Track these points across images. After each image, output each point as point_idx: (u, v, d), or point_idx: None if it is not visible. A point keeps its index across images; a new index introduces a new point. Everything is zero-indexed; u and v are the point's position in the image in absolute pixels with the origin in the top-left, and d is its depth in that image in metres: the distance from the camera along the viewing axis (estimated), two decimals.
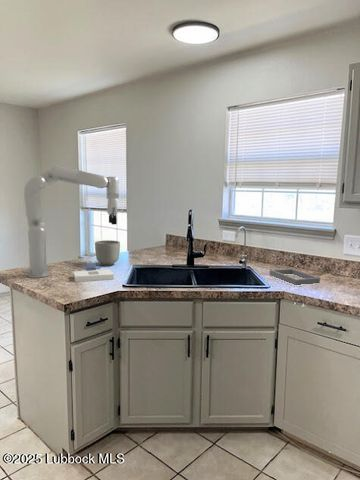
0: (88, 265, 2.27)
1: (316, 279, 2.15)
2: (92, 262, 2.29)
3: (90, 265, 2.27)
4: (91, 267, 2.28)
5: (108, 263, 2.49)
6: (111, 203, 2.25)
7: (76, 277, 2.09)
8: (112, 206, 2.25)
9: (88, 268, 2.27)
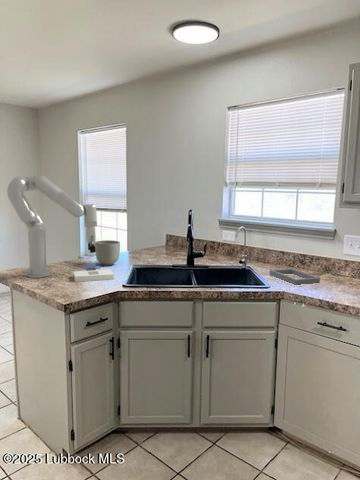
0: (88, 265, 2.27)
1: (316, 279, 2.15)
2: (92, 262, 2.29)
3: (90, 265, 2.27)
4: (91, 267, 2.28)
5: (108, 263, 2.49)
6: (89, 231, 2.21)
7: (76, 277, 2.09)
8: (90, 234, 2.22)
9: (88, 268, 2.27)
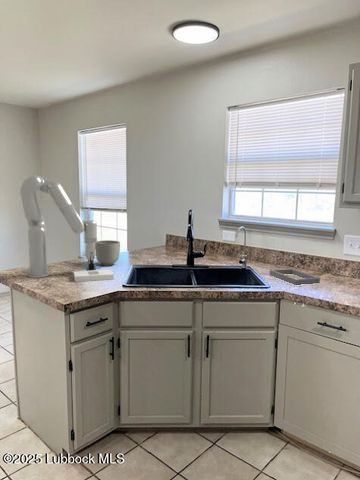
0: (88, 265, 2.27)
1: (316, 279, 2.15)
2: None
3: None
4: None
5: (108, 263, 2.49)
6: (89, 248, 2.23)
7: (76, 277, 2.09)
8: (90, 251, 2.23)
9: (88, 268, 2.27)
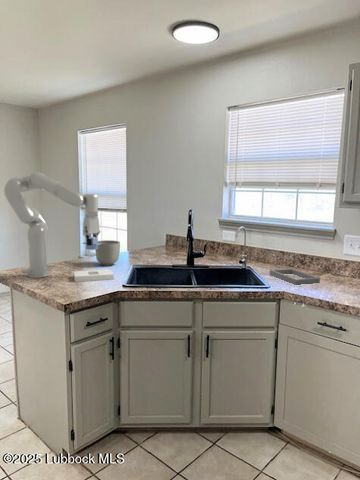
0: None
1: (316, 279, 2.15)
2: (92, 237, 2.20)
3: None
4: None
5: (108, 263, 2.49)
6: (84, 221, 2.17)
7: (76, 277, 2.09)
8: (84, 225, 2.16)
9: None
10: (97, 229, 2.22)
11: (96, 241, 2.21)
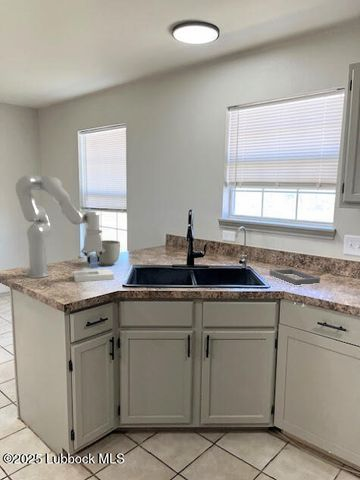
0: None
1: (316, 279, 2.15)
2: (91, 256, 2.16)
3: None
4: None
5: (108, 263, 2.49)
6: (84, 239, 2.15)
7: (76, 277, 2.09)
8: (84, 242, 2.15)
9: None
10: (98, 248, 2.15)
11: (95, 260, 2.15)
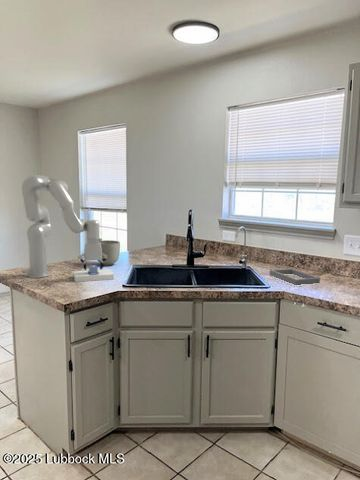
0: (89, 268, 2.19)
1: (316, 279, 2.15)
2: (91, 266, 2.16)
3: (89, 269, 2.18)
4: (89, 271, 2.17)
5: (108, 263, 2.49)
6: None
7: (76, 277, 2.09)
8: (84, 250, 2.15)
9: (89, 271, 2.19)
10: (98, 256, 2.16)
11: (95, 271, 2.16)
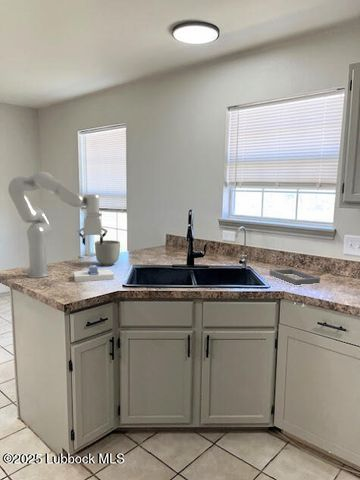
0: (89, 268, 2.19)
1: (316, 279, 2.15)
2: (91, 266, 2.16)
3: (89, 269, 2.18)
4: (89, 271, 2.17)
5: (108, 263, 2.49)
6: None
7: (76, 277, 2.09)
8: None
9: (89, 271, 2.19)
10: (97, 231, 2.13)
11: (95, 271, 2.16)
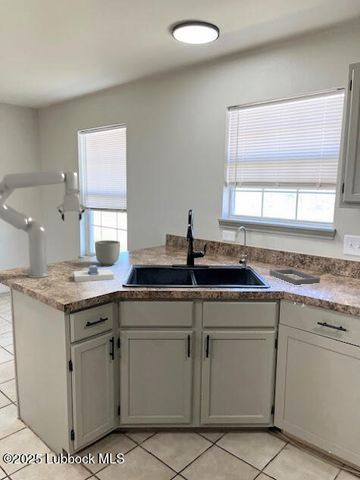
0: (89, 268, 2.19)
1: (316, 279, 2.15)
2: (91, 266, 2.16)
3: (89, 269, 2.18)
4: (89, 271, 2.17)
5: (108, 263, 2.49)
6: None
7: (76, 277, 2.09)
8: None
9: (89, 271, 2.19)
10: (76, 207, 2.20)
11: (95, 271, 2.16)
